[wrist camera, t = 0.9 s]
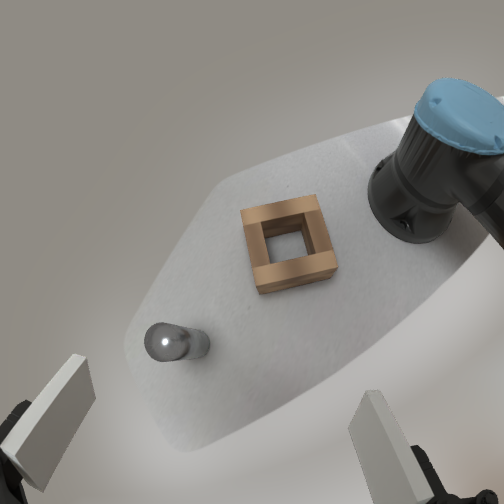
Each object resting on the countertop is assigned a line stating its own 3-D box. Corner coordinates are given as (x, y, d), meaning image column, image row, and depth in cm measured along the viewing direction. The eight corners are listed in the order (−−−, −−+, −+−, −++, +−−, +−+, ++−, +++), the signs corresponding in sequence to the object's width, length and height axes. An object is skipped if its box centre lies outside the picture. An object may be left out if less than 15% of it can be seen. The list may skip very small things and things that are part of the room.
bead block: (311, 213, 42) (315, 194, 37) (330, 278, 39) (338, 266, 34) (245, 228, 43) (240, 210, 37) (259, 294, 40) (255, 286, 34)
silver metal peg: (206, 327, 39) (177, 319, 28) (212, 355, 38) (183, 359, 26) (180, 331, 39) (141, 325, 28) (184, 359, 38) (147, 363, 26)
